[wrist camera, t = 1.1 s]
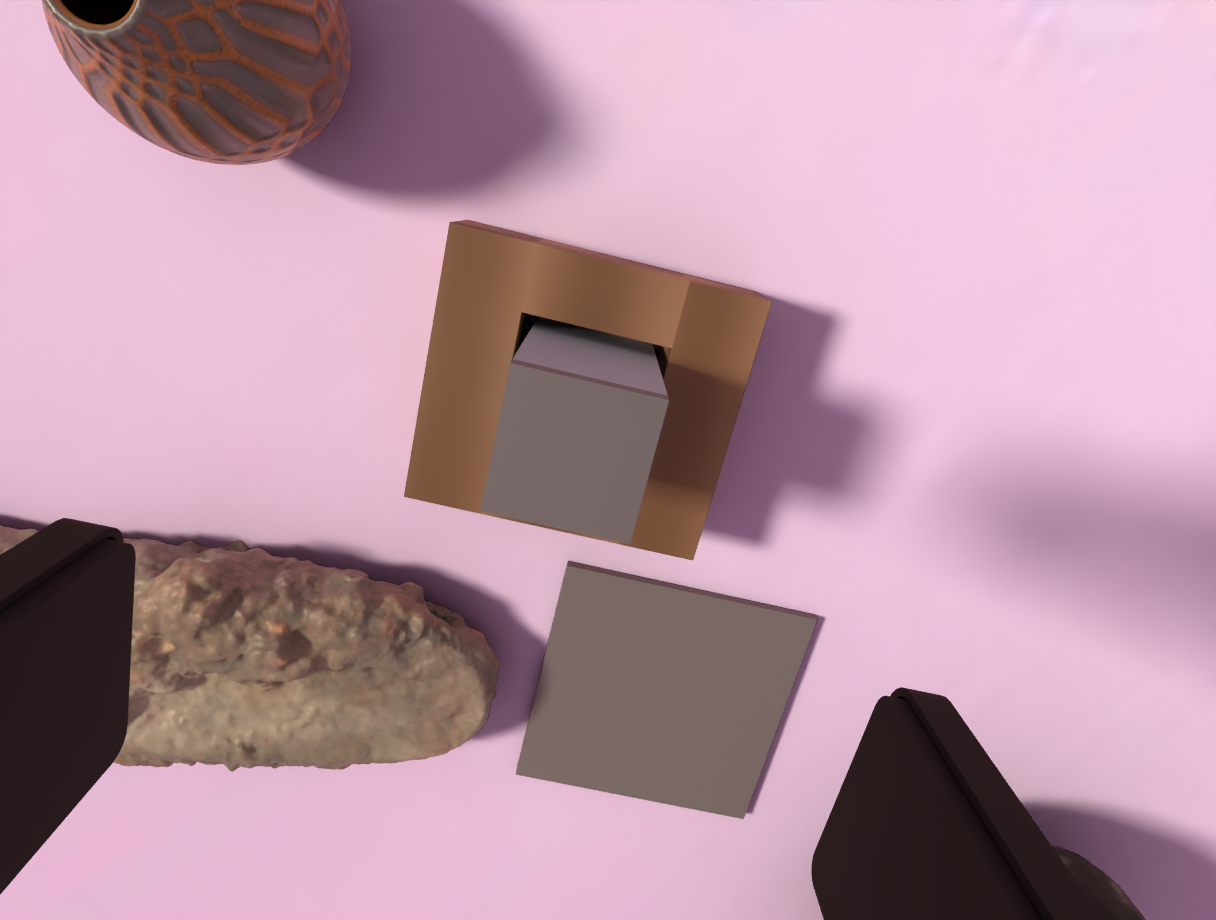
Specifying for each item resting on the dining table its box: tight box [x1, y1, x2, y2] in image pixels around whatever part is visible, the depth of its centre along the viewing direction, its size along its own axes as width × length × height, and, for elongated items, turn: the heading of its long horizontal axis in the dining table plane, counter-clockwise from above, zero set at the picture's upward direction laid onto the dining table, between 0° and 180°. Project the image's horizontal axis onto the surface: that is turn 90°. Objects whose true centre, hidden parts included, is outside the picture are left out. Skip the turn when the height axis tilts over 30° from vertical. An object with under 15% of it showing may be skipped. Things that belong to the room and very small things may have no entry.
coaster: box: [516, 561, 817, 819], centre depth 32 cm, size 10×10×1 cm
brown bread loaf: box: [0, 525, 499, 771], centre depth 29 cm, size 35×5×10 cm
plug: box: [480, 316, 669, 544], centre depth 24 cm, size 4×4×8 cm
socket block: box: [404, 220, 771, 560], centre depth 26 cm, size 10×9×3 cm
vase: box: [42, 0, 351, 165], centre depth 20 cm, size 7×7×9 cm
